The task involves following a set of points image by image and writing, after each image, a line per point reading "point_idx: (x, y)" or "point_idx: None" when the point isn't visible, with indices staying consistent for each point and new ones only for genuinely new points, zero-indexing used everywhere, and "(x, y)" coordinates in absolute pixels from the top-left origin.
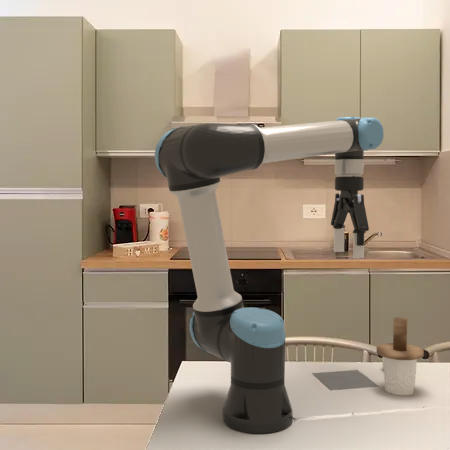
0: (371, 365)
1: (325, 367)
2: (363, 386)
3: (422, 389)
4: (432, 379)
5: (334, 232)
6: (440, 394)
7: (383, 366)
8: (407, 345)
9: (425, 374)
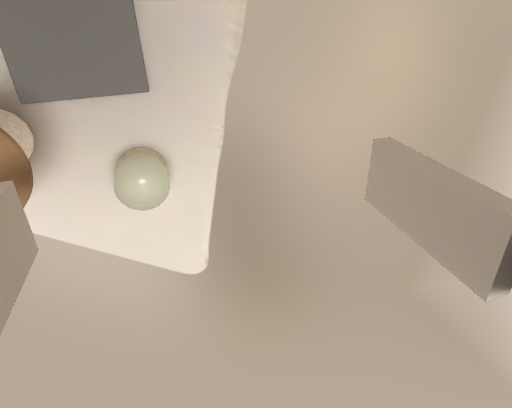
0: (200, 140)
1: (196, 21)
2: (13, 63)
3: (34, 193)
4: (102, 230)
5: (498, 197)
6: None
7: (139, 153)
8: None
9: (134, 227)
